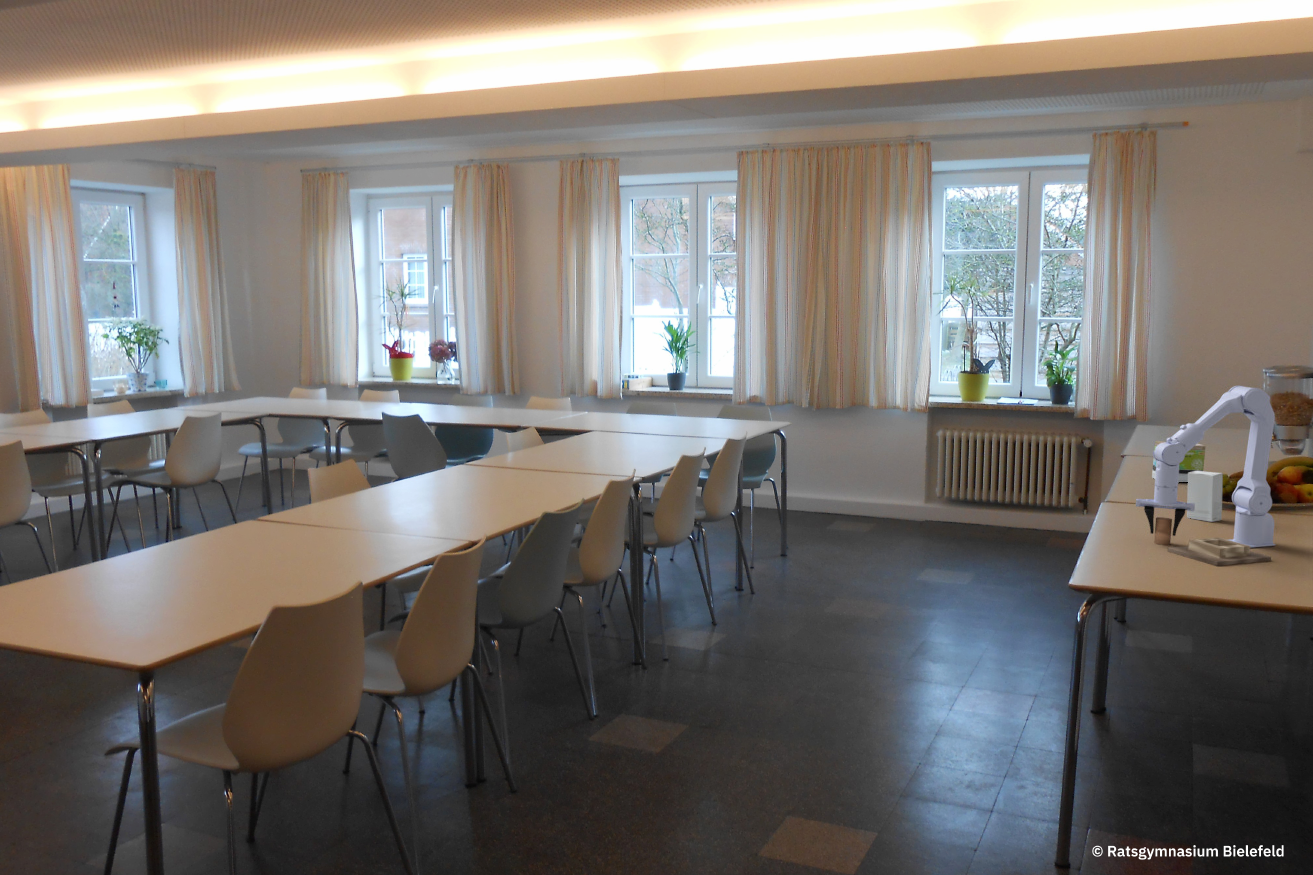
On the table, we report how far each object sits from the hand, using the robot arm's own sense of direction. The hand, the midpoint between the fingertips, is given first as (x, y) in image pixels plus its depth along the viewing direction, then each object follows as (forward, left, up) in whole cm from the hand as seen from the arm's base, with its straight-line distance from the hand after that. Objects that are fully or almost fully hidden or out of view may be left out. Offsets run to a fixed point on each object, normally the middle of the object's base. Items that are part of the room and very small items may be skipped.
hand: (1162, 533), depth 279 cm
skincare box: (-37, -22, -3) cm, 43 cm away
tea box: (-84, -80, -3) cm, 116 cm away
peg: (0, 0, -3) cm, 3 cm away
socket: (-3, +16, -3) cm, 16 cm away
